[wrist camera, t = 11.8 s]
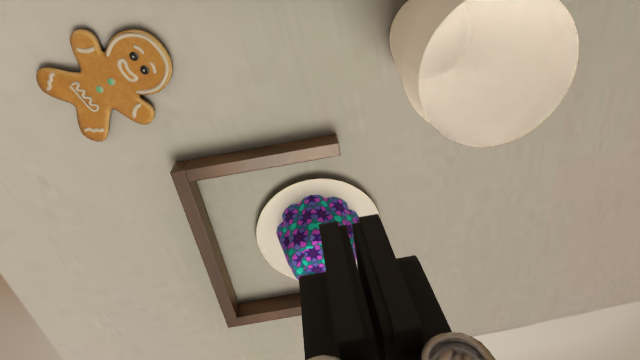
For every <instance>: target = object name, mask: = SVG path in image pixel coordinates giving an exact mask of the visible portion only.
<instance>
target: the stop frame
mask: <svg viewBox="0 0 640 360" xmlns="http://www.w3.org/2000/svg"><path fill="white" fill-rule="evenodd" d="M339 155H341V154H340V148H339V142H338V138H337V135H336V134H333V135H327V136H321V137H316V138H310V139H305V140H299V141H293V142H288V143H282V144H277V145H271V146H265V147H260V148H254V149H248V150H243V151H237V152H232V153H226V154H220V155H215V156H209V157H203V158H198V159H192V160H186V161H181V162H176V163H175V165H174V166H173V168H172V170H171V172H170V173H171V176H172V179H173V181H174V184H175V187H176V189H177V192H178V195H179V197H180V200H181V203H182V205H183V208H184V211H185V213H186V216H187V219H188V221H189V224H190V227H191V229H192V232H193V235H194V237H195V240H196V243H197V245H198V248H199V251H200V253H201V256H202V259H203V261H204V264H205V267H206V269H207V272H208V275H209V277H210V280H211V283H212V285H213V288H214V291H215V293H216V296H217V299H218V301H219V304H220V307H221V309H222V312H223V315H224V317H225V320H226V323H227V325H228V328H229V327H235V326H239V325H240V326H241V325H247V324H253V323H259V322H264V321H270V320H276V319H282V318H288V317H293V316H299V315H302V311H301V298H300V293H298V294H292V295H286V296H280V297H275V298H269V299H263V300H257V301H251V302H246V303H240V304H238V301H237V298H236V295H235V292H234V289H233V286H232V283H231V281H230V278H229V275H228V272H227V269H226V266H225V263H224V260H223V257H222V254H221V252H220V249H219V246H218V243H217V240H216V237H215V234H214V231H213V228H212V226H211V223H210V220H209V217H208V214H207V211H206V208H205V205H204V202H203V199H202V197H201V194H200V191H199V188H198V185H197V182H196V181H198V180H204V179H209V178H215V177H221V176H226V175H232V174H238V173H243V172H249V171H255V170H260V169H266V168H272V167H277V166H283V165H288V164H294V163H300V162H305V161H311V160H317V159H322V158H328V157H334V156H339Z"/></svg>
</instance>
